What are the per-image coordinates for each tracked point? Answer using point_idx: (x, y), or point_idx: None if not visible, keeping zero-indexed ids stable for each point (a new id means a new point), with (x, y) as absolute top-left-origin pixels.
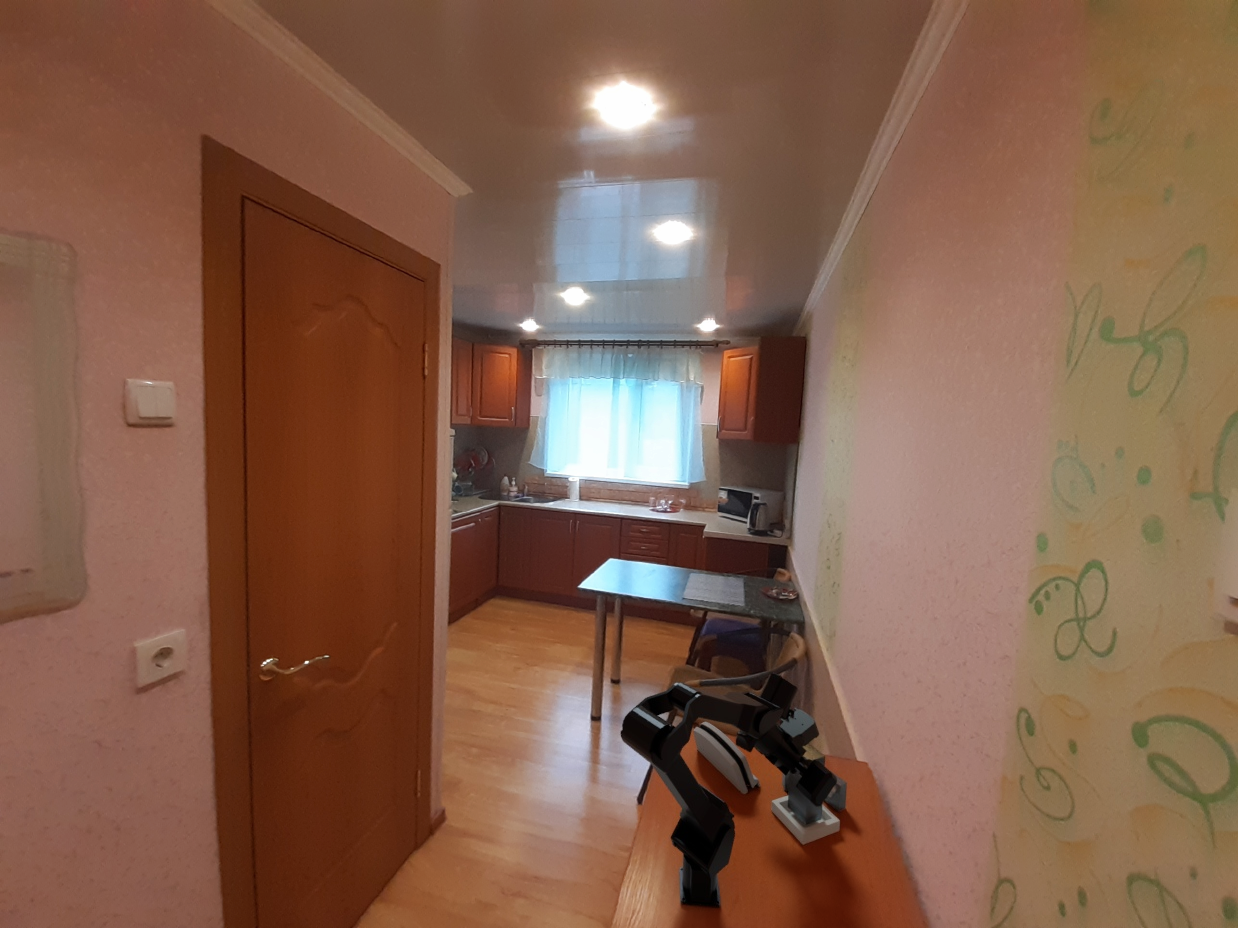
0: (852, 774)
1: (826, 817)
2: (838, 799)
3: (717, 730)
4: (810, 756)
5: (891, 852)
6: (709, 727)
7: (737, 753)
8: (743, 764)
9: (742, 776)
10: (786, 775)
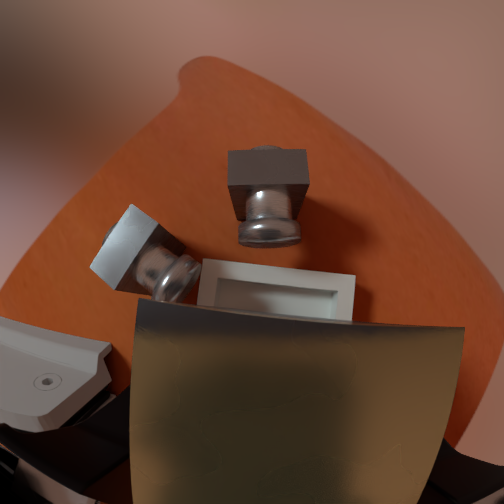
0: (218, 87)
1: (313, 289)
2: (296, 206)
3: None
4: (381, 486)
5: (433, 220)
6: None
7: (27, 428)
8: (60, 423)
9: (85, 419)
10: (135, 288)
